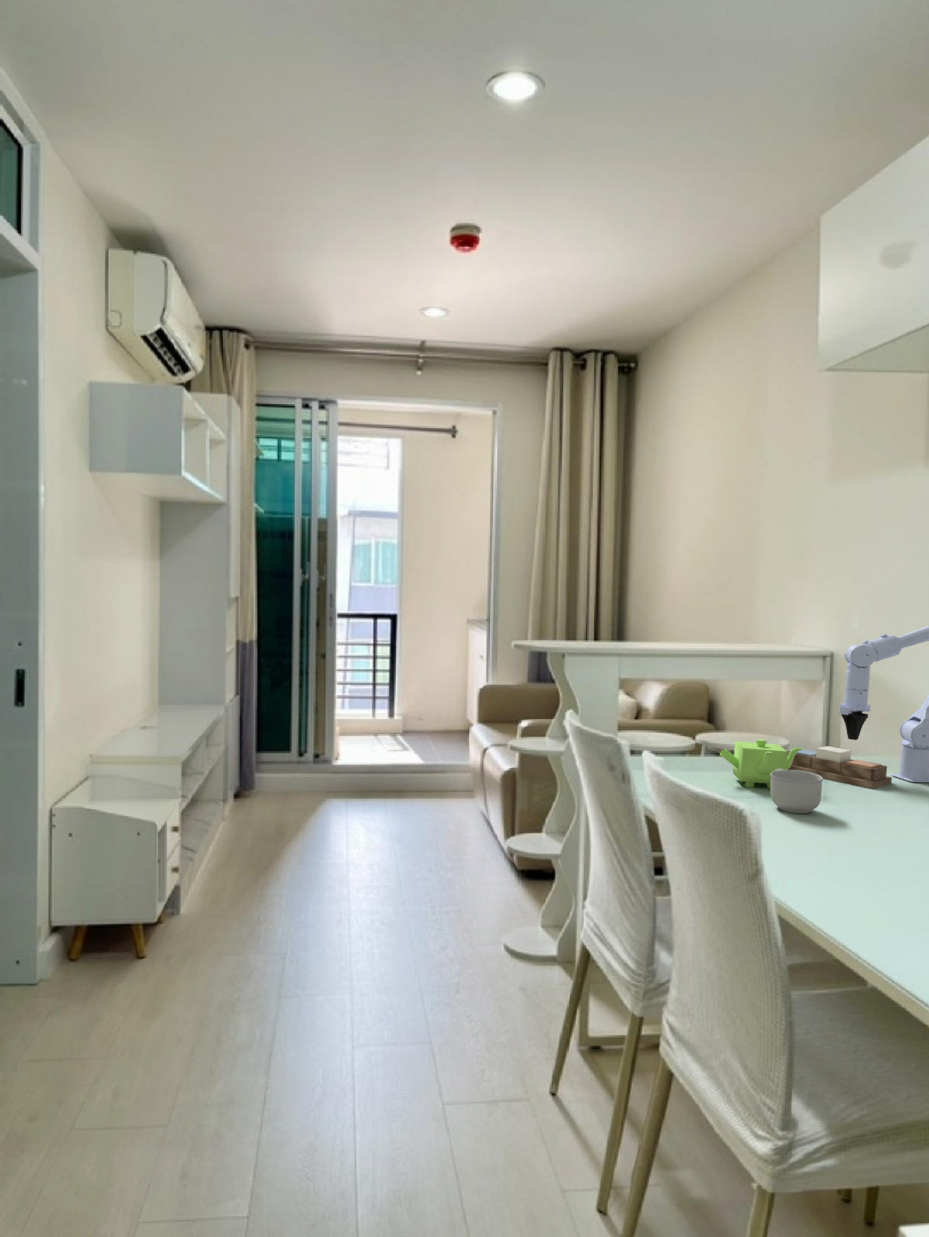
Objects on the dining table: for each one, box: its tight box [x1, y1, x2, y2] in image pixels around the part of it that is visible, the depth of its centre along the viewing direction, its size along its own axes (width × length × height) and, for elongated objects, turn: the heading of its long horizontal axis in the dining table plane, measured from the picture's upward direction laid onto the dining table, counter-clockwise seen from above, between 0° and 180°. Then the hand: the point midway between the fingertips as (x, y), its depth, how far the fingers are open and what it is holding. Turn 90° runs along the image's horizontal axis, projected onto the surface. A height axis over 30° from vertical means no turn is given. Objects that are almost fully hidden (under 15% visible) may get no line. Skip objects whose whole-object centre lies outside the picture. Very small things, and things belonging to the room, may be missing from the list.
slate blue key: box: [787, 748, 816, 757], centre depth 239 cm, size 6×6×3 cm
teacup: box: [770, 769, 824, 814], centre depth 195 cm, size 14×11×8 cm
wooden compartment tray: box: [786, 750, 893, 789], centre depth 233 cm, size 26×12×4 cm, turn 43°
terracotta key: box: [846, 759, 882, 769], centre depth 227 cm, size 6×6×3 cm
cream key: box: [815, 745, 852, 763], centre depth 233 cm, size 6×6×3 cm
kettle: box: [719, 738, 805, 790], centre depth 217 cm, size 15×14×11 cm
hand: (852, 739), depth 236 cm, fingers closed
